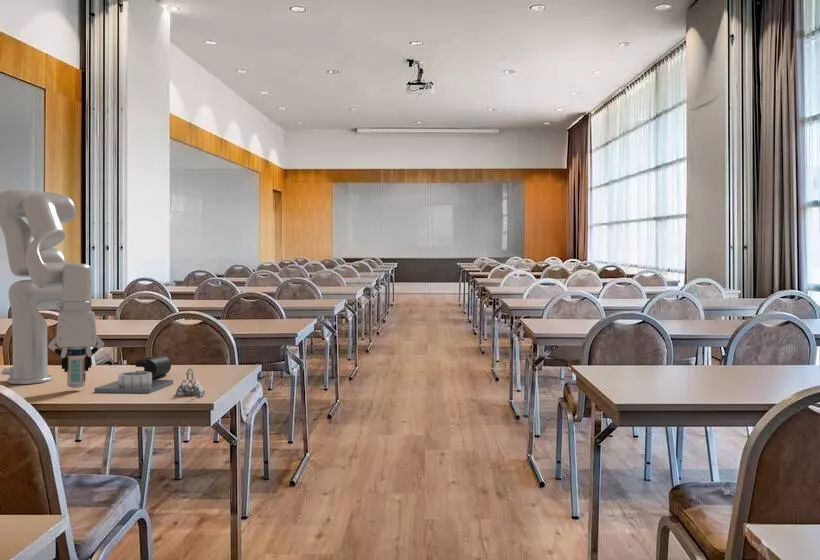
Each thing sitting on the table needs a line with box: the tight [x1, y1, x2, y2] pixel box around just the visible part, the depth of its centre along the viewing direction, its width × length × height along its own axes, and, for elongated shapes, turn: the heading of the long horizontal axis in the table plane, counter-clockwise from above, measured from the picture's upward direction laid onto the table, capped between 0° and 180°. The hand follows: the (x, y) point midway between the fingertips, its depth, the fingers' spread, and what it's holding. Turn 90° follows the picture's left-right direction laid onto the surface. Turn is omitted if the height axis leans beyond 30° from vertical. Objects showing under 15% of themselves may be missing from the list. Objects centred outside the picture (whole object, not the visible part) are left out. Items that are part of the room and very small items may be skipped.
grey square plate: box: [93, 370, 174, 394], centre depth 204 cm, size 16×16×4 cm
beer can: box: [66, 347, 87, 389], centre depth 199 cm, size 5×5×12 cm
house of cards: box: [175, 367, 206, 401], centre depth 192 cm, size 9×9×8 cm
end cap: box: [135, 355, 172, 380], centre depth 222 cm, size 10×7×7 cm
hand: (76, 370), depth 200 cm, fingers closed on beer can, 4 cm apart
